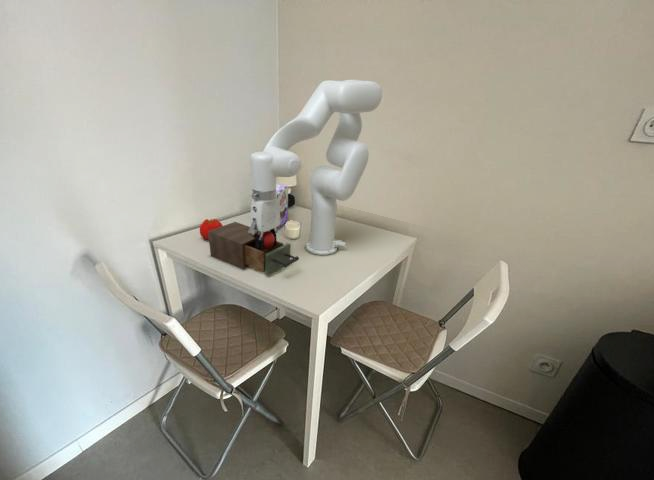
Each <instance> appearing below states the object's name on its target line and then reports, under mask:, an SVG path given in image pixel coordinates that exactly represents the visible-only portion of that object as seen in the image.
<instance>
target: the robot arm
mask: <svg viewBox="0 0 654 480" xmlns="http://www.w3.org/2000/svg"><path fill="white" fill-rule="evenodd" d="M382 97H383V92H382V87H381V86H380V85H379V83H378V82H376V81H374V80H361V79H344V80H332V79H327V80H323V81H322V82H321V83H319V84H318V86H317V87H316V88H315V90H314V91H313V93H312V94H311V96H310V97H309V98H308V100H307V101H306V103H305V105H304V106H303V107H302V109H301V111H300V112H299V114H298V115H297V116H296V117H295V118H293V119H291V120H290V121H289V122H287V123H286V124H284V125H283V126H281V127H280V128H279V129H277V131H275V133H274V134H273V135H272V136H271V138H270V139H269V141H268V142H267V143H266V145H265V146H264V148H263V151H255V152H253V153H251V154H250V176H251V177H250V178H251V195H250V196H251V198H252V200H251V205H250V225H249V227H250V228H249V230H248V233H249V234H251V235H252V236H253V237H254V238H255V245H256V249H259V250H261V251H263V250H264V241H263V239H262V236H263V232H266V231H270V232H272V233H273V235H274V237H275V242H274V244H276V241H277V234H278V230H279V229H278V227H279V225H280V222H281V218H280V208H279V201H278V198H277V197H276V185H277V178H292V177H295V176H296V175H297V174H298V173H299V172H300V171H301V168H302V162H301V161H302V160H301V158H300V157H299V156H298V154H297V153H295V152H293V151H291V150H290V149H291V148H292V147H293V146H295V145H296V144H299V143H301V142H304V141H308V140H311V139H313V138H316V137H318V136H319V135H320V134H321V133H322V131H323V129H324V128H325V126H326V124H327V123H328V122H329V120H330V119H331V118H332V116H333V114H334V113H339V119H338V120H339V121H338V124H337V126H336V128H335V130H334V133H333V135H332V138H331V139H330V142H329V144H328V147H327V149H326V151H325V152H326V153H325V158H326V161H327V162H328V163H329V164H331V165H332V166H334V167H335V166H336V167H338V168H341V169H337V168H334V167H330V166H326V165H322V166H317V167H316V168H314V169H313V170H312V172H311V173H310V177H309V185H310V191H311V211H310V213H311V216H310V218H311V219H310V233H309V235H310V236H309V241H308V242H307V243H306V244H305V249H306V251H308V252H309V253H311V254H314V255H318V256H328V255H332V254H335V253H336V252H337V251H338V247H343V248H345V247H346V241H343V240H342V239H336V237H335V233H336V221H337V211H338V205H337V200H338V201H347V200H349V199H350V198H351V197H352V195H353V194H354V193H355V190H356V189H357V187H358V184H359V182H360V180H361V178H362V176H363V174H364V171H365V170H366V167H367V164H368V162H369V149H368V146H367V145H366V144H365V143H364V142H362V141H359V138H360V135H361V133H362V129H363V122H362V117H361V113H370V112H373V111H375V110H377V108H378V107H379V106H380V104H381V102H382ZM289 150H290V151H289ZM277 229H278V230H277ZM258 232H260V233H259V235H258Z"/></svg>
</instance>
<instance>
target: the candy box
mask: <svg viewBox="0 0 654 480" xmlns="http://www.w3.org/2000/svg"><path fill="white" fill-rule="evenodd" d="M276 197H277V198H278V201H279V208H280V218H281V222H280V225H279V227H278V229H277V231H278V230H279V229H280V228H281V227H282V226H284V224H285V223H287V222H288V221H289V186H288V185H285V184H284V185H283V184H276Z"/></svg>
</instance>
